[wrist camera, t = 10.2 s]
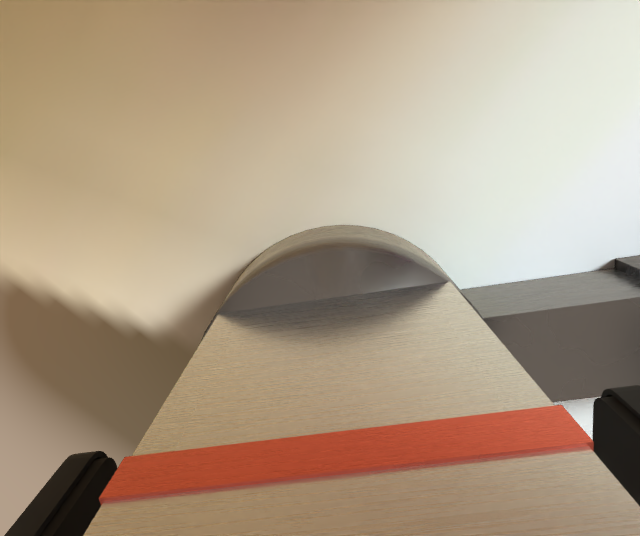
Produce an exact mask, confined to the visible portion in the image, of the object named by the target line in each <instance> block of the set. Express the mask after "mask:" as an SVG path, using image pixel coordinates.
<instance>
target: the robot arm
mask: <svg viewBox="0 0 640 536" xmlns="http://www.w3.org/2000/svg"><path fill="white" fill-rule="evenodd" d="M593 442H594V450H593V452H594V453H595V454H596V455H597V456H598V458H599V459H600V460H601V461H602V462H603V463H604V465H605V466H606V467H607V468H608V469H609V471H610V472H611V473H612V474H613V475H614V477H615V478H616V479H617V480H618V481H619V482H620V484H621V485H622V486H623V487H624V488H625V490H626V491H627V492H628V493H629V494H630V496H631V497H632V498H633V499H634V500H635V501H636V503H637V504H638V505H639V506H640V386H639V385H633V386H625V387H617V388H609V389H605V390H604V391H603V393H602V396H601V398H597V399H595V401H594V408H593ZM117 469H118V468H117V465H116V463H115V461H114V460H113V459H112V458H108V457H107V455H106V454H105V453H104V452H102V451H96V452H87V453H79V454H73V455H71V456H69V457H68V458H67V459H66V460H65V461H64V462H63V464H62V465H61V466H60V467H59V469H58V470H57V471H56V472H55V473H54V475H53V476H52V477H51V479H50V480H49V481H48V482H47V483H46V485H45V486H44V487H43V488H42V490H41V491H40V492H39V493H38V495H37V496H36V497H35V498H34V500H33V501H32V502H31V503H30V504H29V506H28V507H27V508H26V509H25V511H24V512H23V513H22V514H21V516H20V517H19V518H18V519H17V521H16V522H15V523H14V524H13V526H12V527H11V528H10V529H9V531H8V532H7V533H6V534H5V536H83V535H84V533H85V532H86V530H87V528H88V527H89V525H90V523H91V522H92V520H93V518H94V517H95V515H96V514H97V512H98V510H99V509H100V507H101V504H100V501H99V497H100V496H101V494H102V492H103V491H104V489H105V488H106V486H107V484H108V483H109V481H110V480H111V478H112V476H113V475H114V473H115V472H116V470H117Z"/></svg>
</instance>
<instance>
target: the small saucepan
mask: <svg viewBox="0 0 640 536" xmlns="http://www.w3.org/2000/svg"><path fill="white" fill-rule="evenodd" d="M443 282H451V283H452V284H453V285H454V286H455V288H456V289H457V290H458V291H459V292H460V293H461V295H462V296H463V297H464V298H465V299H466V301H467V302H468V303H469V304H470V305H471V307H472V308H473V309H474V310H475V311H476V313H477V314H478V315H479V316H480V317H481V318H482V320H483V321H484V322H485V323H486V324H487V326H488V327H489V328H490V329H491V330H492V332H493V333H494V334H495V335H496V336H497V337H498V339H499V340H500V341H501V342H502V343H503V345H504V346H505V347H506V348H507V349H508V351H509V352H510V353H511V354H512V355H513V356H514V358H515V359H516V360H517V361H518V362H519V364H520V365H521V366H522V367H523V368H524V370H525V371H526V372H527V373H528V374H529V376H530V377H531V378H532V379H533V380H534V381H535V383H536V384H537V385H538V386H539V387H540V389H541V390H542V391H543V392H544V393H545V395H546V396H547V397H548V398H549V399H550V400H551V402H558V401H566V400H574V399H582V398H590V397H599V396H602V393H603V391H604V390H605V389H609V388H617V387H625V386H633V385H639V386H640V255H638V256H631V257H624V258H617V259H615V268H613V269H605V270H598V271H591V272H584V273H577V274H570V275H562V276H555V277H548V278H541V279H534V280H527V281H520V282H512V283H505V284H498V285H491V286H484V287H477V288H469V289H462V290H460V289H459V288H458V287H457V286H456V285H455V283H454V282H453V281H452V280H451V279H450V278H449V276H448V275H447V274H446V273H445V272H444V271H443V270H442V268H441V267H440V266H439V265H438V264H437V263H436V262H435V261H434V260H433V259H432V258H431V257H430V256H429V255H427V254H426V253H425V252H424V251H423V250H421V249H420V248H418V247H417V246H415V245H413V244H412V243H410V242H409V241H407V240H405V239H402V238H400V237H398V236H396V235H394V234H391V233H388V232H385V231H382V230H378V229H375V228H369V227H363V226H353V225H335V226H324V227H319V228H315V229H310V230H306V231H303V232H300V233H298V234H295V235H292V236H289V237H288V238H286V239H284V240H282V241H280V242H278V243H276V244H274V245H273V246H271V247H270V248H269V249H267V250H266V251H264V252H263V253H261V254H260V255H259V256H258V257H257V258H256V259H255V260H254V261H253V262H252V263H250V264H249V266H248V267H247V268H246V269H245V270H244V272H243V273H242V274H241V275H240V276H239V278H238V279H237V281H236V283H235V284H234V286H233V287H232V289H231V291H230V292H229V294H228V295H227V297H226V299H225V300H224V302H223V303H222V305H221V307H220V308H219V310H218V312H217V313H216V315H215V316H214V318H213V320H212V321H211V323H210V325H209V326H208V328H207V329H206V331H205V333H204V336H203V338H204V337H205V335H206V333H207V332H208V330H209V328H210V327H211V325H212V324H213V322H214V320H215V319H216V317H217V315H218V314H219V313H225V312H232V311H240V310H247V309H254V308H261V307H269V306H276V305H283V304H290V303H298V302H305V301H312V300H319V299H327V298H334V297H341V296H348V295H356V294H363V293H370V292H377V291H385V290H392V289H399V288H406V287H414V286H421V285H428V284H435V283H443ZM203 338H202V340H203ZM202 340H201V342H202Z"/></svg>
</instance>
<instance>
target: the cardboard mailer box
mask: <svg viewBox="0 0 640 536" xmlns="http://www.w3.org/2000/svg"><path fill="white" fill-rule="evenodd" d="M593 450H594V442H593V441H592V439H591V438H590V437H589V436H588V435H587V434H586V432H585V431H584V430H583V429H582V428H581V427H580V426H579V424H578V423H577V422H576V421H575V420H574V419H573V417H572V416H571V415H570V414H569V413H568V412H567V411H566V409H565V408H564V407H563V406H562V405H556V406H555V405H554V404H553V403H552V402H551V400H550V399H549V398H548V397H547V396H546V395H545V393H544V392H543V391H542V390H541V389H540V387H539V386H538V385H537V384H536V383H535V381H534V380H533V379H532V378H531V377H530V376H529V374H528V373H527V372H526V371H525V370H524V368H523V367H522V366H521V365H520V364H519V362H518V361H517V360H516V359H515V358H514V356H513V355H512V354H511V353H510V352H509V351H508V349H507V348H506V347H505V346H504V345H503V343H502V342H501V341H500V340H499V339H498V337H497V336H496V335H495V334H494V333H493V332H492V330H491V329H490V328H489V327H488V326H487V324H486V323H485V322H484V321H483V320H482V318H481V317H480V316H479V315H478V314H477V313H476V311H475V310H474V309H473V308H472V307H471V305H470V304H469V303H468V302H467V301H466V299H465V298H464V297H463V296H462V295H461V293H460V292H459V291H458V290H457V289H456V288H455V286H454V285H453V284H452V283H451V282H443V283H435V284H428V285H421V286H414V287H406V288H399V289H392V290H385V291H377V292H370V293H363V294H356V295H348V296H341V297H334V298H327V299H319V300H312V301H305V302H298V303H290V304H283V305H276V306H269V307H261V308H254V309H247V310H240V311H232V312H225V313H219V314H218V315H217V317H216V319H215V320H214V322H213V324H212V325H211V327H210V328H209V330H208V332H207V333H206V335H205V337H204V338H203V340H202V342H201V343H200V345H199V347H198V348H197V350H196V351H195V353H194V355H193V356H192V358H191V360H190V361H189V363H188V365H187V366H186V368H185V369H184V371H183V373H182V374H181V376H180V378H179V379H178V381H177V383H176V384H175V386H174V388H173V389H172V391H171V392H170V394H169V396H168V397H167V399H166V401H165V402H164V404H163V406H162V407H161V409H160V410H159V412H158V414H157V416H156V417H155V419H154V420H153V422H152V424H151V425H150V427H149V428H148V430H147V432H146V433H145V435H144V437H143V438H142V440H141V442H140V443H139V445H138V446H137V448H136V450H135V451H134V453H133V455H132V456H129V457H124V459H123V461H122V462H121V464H120V465H119V467H118V469H117V470H116V472H115V473H114V475H113V476H112V478H111V480H110V481H109V483H108V484H107V486H106V488H105V489H104V491H103V492H102V494H101V496H100V497H99V501H100V504H101V507H100V509H99V510H98V512H97V514H96V515H95V517H94V518H93V520H92V522H91V523H90V525H89V527H88V528H87V530H86V532H85V533H84V535H83V536H640V506H639V505H638V504H637V503H636V501H635V500H634V499H633V498H632V497H631V496H630V494H629V493H628V492H627V491H626V490H625V488H624V487H623V486H622V485H621V484H620V482H619V481H618V480H617V479H616V478H615V477H614V475H613V474H612V473H611V472H610V471H609V469H608V468H607V467H606V466H605V465H604V463H603V462H602V461H601V460H600V459H599V458H598V456H597V455H596V454H595V453H594V452H593Z"/></svg>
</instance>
